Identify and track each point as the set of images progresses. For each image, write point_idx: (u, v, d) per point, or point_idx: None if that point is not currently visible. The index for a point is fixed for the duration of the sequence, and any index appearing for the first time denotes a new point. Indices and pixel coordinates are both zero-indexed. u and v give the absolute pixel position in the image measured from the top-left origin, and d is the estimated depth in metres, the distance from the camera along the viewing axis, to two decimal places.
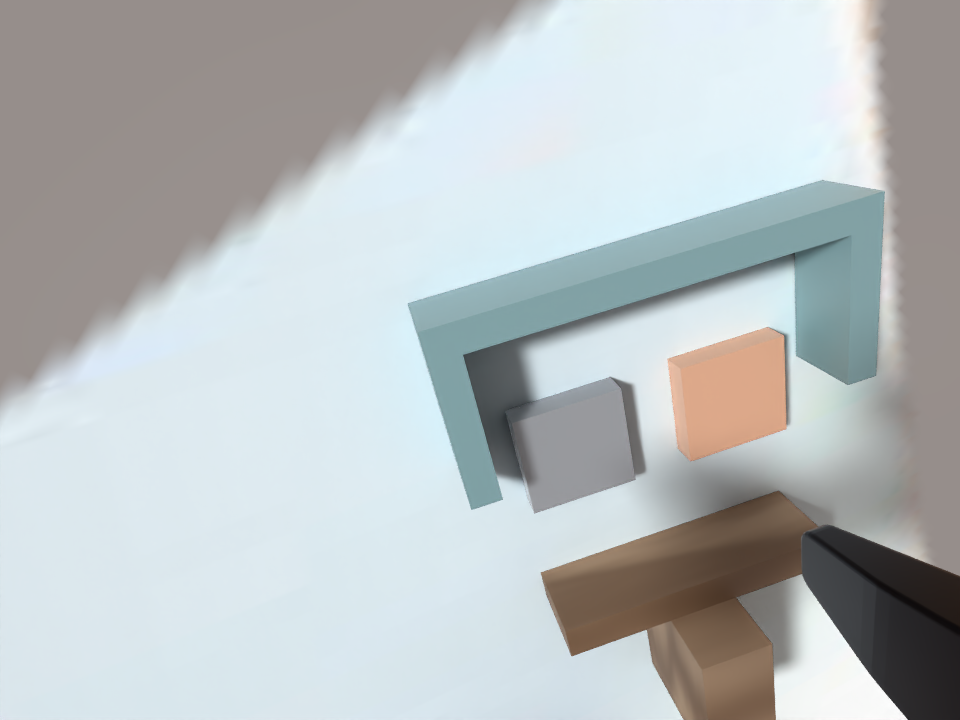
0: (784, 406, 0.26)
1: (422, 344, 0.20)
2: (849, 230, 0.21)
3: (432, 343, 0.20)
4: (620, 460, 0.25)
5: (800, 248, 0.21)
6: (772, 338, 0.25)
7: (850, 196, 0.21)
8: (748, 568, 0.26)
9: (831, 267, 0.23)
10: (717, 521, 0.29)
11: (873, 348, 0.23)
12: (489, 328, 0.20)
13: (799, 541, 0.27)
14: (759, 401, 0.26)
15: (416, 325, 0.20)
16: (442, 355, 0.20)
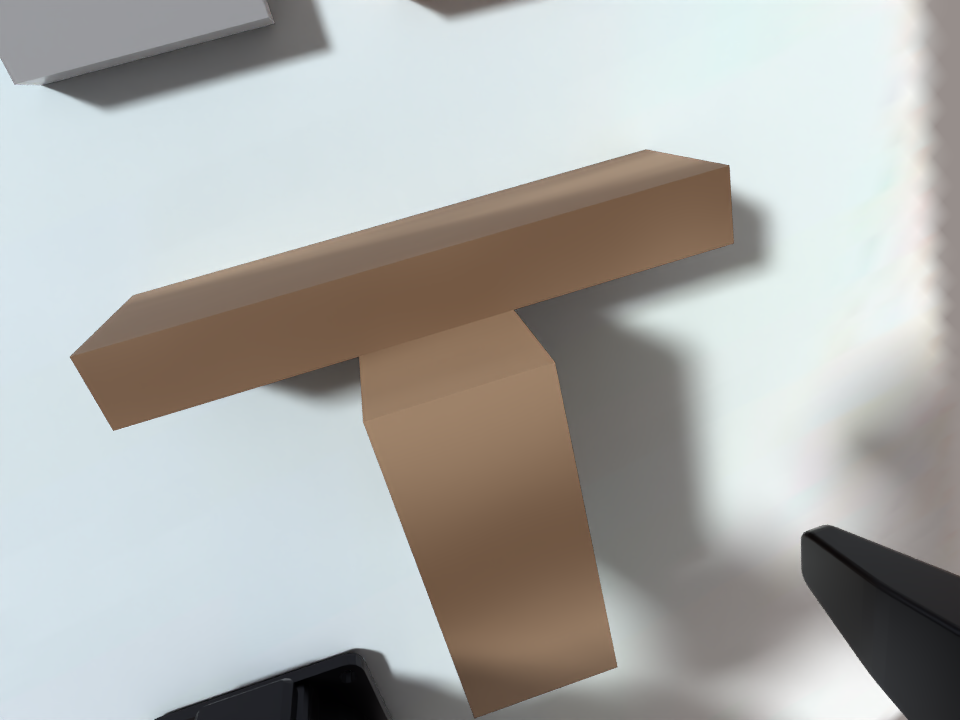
0: None
1: None
2: None
3: None
4: None
5: None
6: None
7: None
8: (532, 228, 0.11)
9: None
10: (509, 193, 0.14)
11: None
12: None
13: (659, 180, 0.12)
14: None
15: None
16: None
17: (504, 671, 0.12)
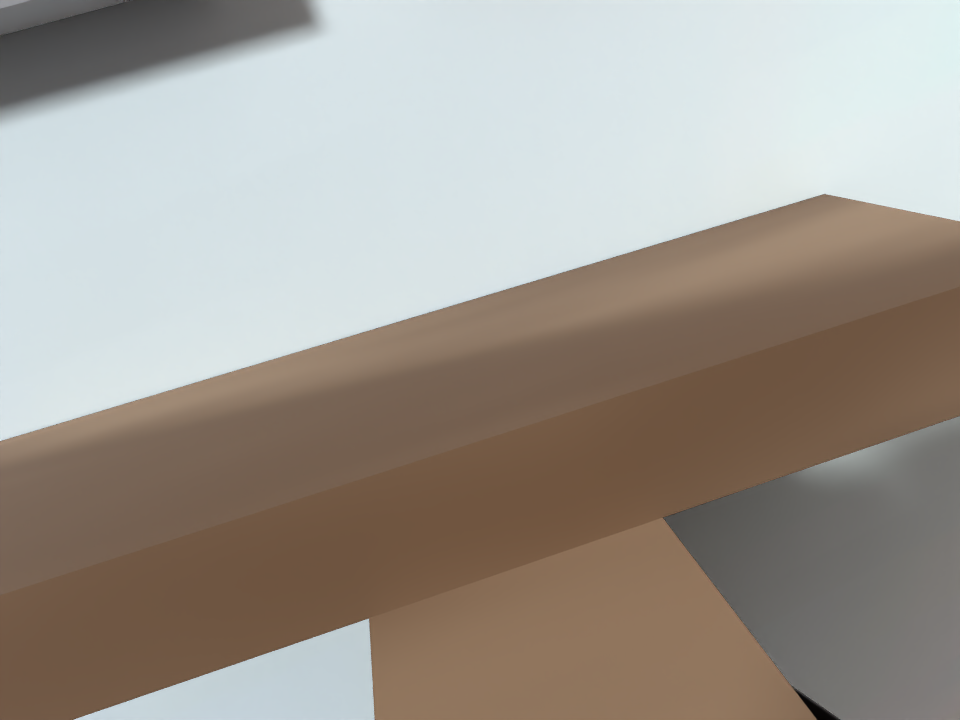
0: None
1: None
2: None
3: None
4: None
5: None
6: None
7: None
8: (714, 376, 0.06)
9: None
10: (617, 272, 0.08)
11: None
12: None
13: (939, 273, 0.06)
14: None
15: None
16: None
17: None
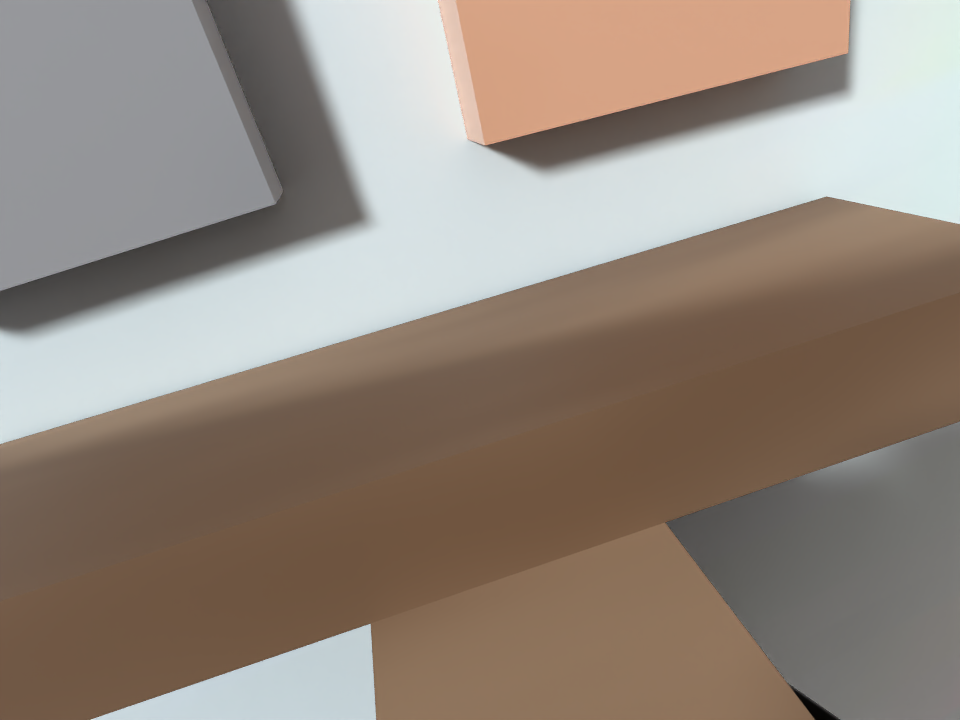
0: None
1: None
2: None
3: None
4: (177, 98, 0.06)
5: None
6: None
7: None
8: (718, 381, 0.06)
9: None
10: (619, 275, 0.08)
11: None
12: None
13: (943, 277, 0.06)
14: None
15: None
16: None
17: None
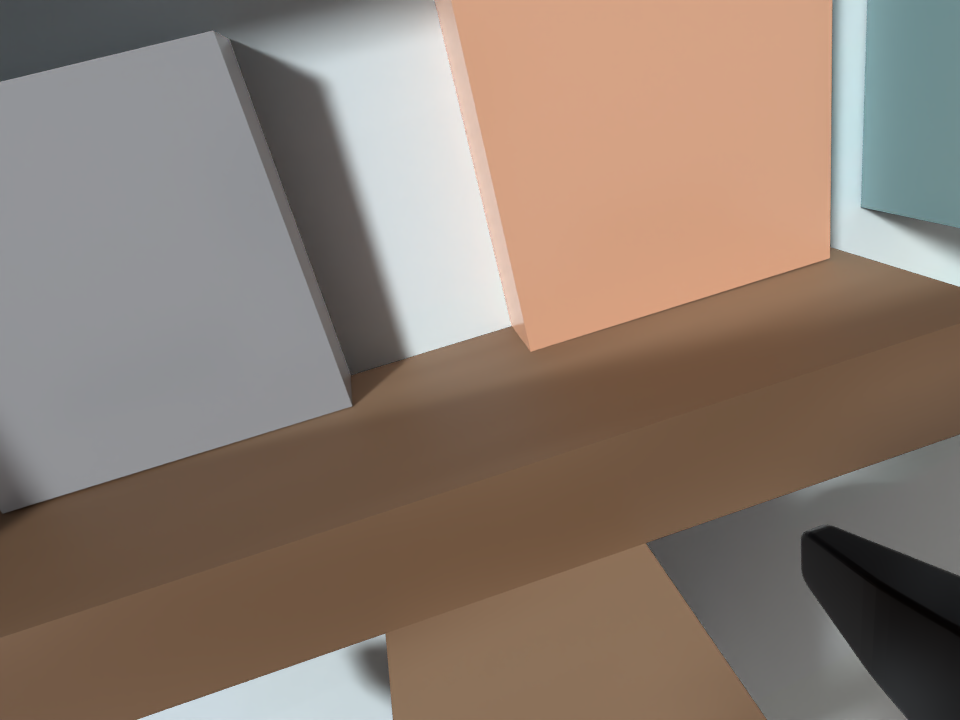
0: (826, 177, 0.08)
1: None
2: None
3: None
4: (283, 333, 0.08)
5: None
6: None
7: None
8: (690, 420, 0.06)
9: None
10: None
11: None
12: None
13: (891, 326, 0.07)
14: (746, 150, 0.08)
15: None
16: None
17: None
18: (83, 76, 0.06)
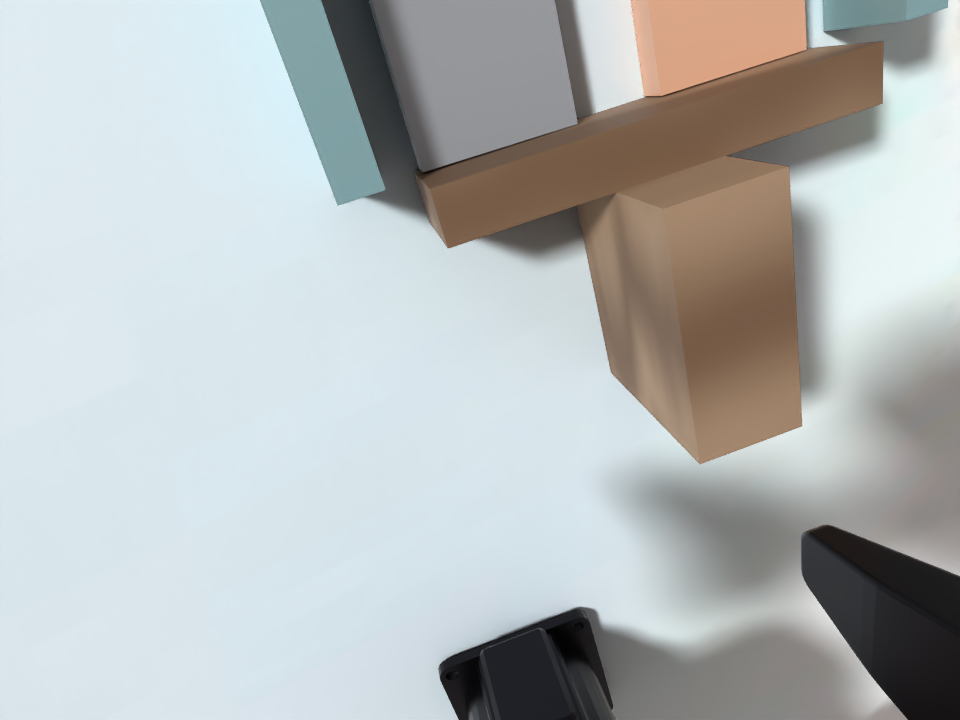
0: (802, 4, 0.17)
1: None
2: None
3: None
4: (552, 82, 0.17)
5: None
6: None
7: None
8: (744, 91, 0.15)
9: None
10: None
11: None
12: None
13: (830, 56, 0.16)
14: None
15: None
16: None
17: (725, 423, 0.16)
18: None
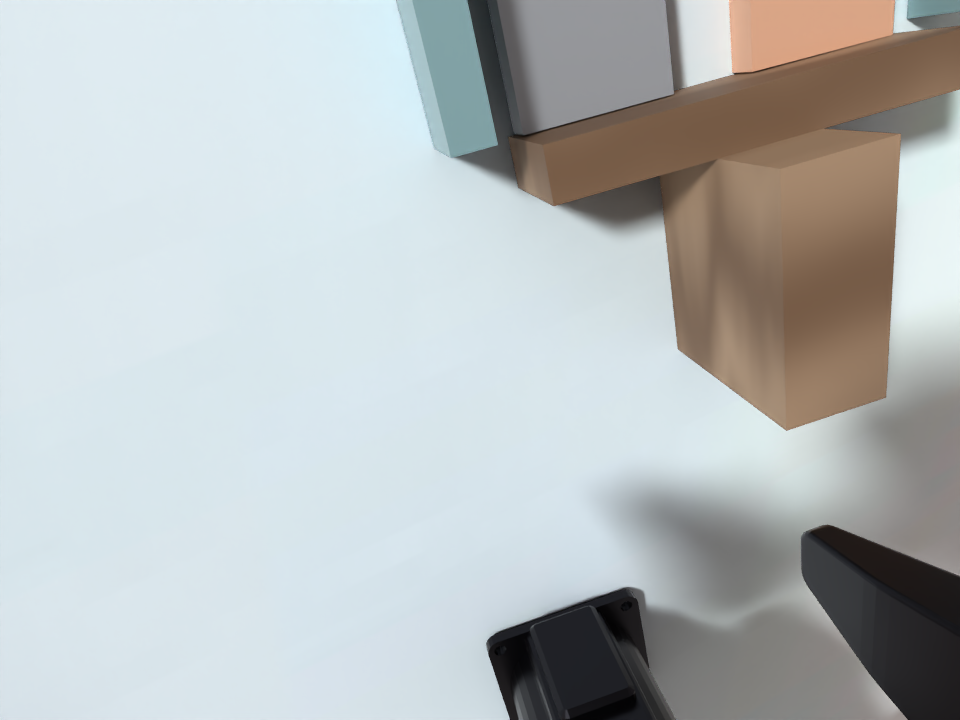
0: None
1: None
2: None
3: None
4: (653, 51, 0.17)
5: None
6: None
7: None
8: (847, 64, 0.16)
9: None
10: (784, 63, 0.18)
11: None
12: None
13: (927, 36, 0.16)
14: None
15: None
16: None
17: (814, 390, 0.16)
18: None
